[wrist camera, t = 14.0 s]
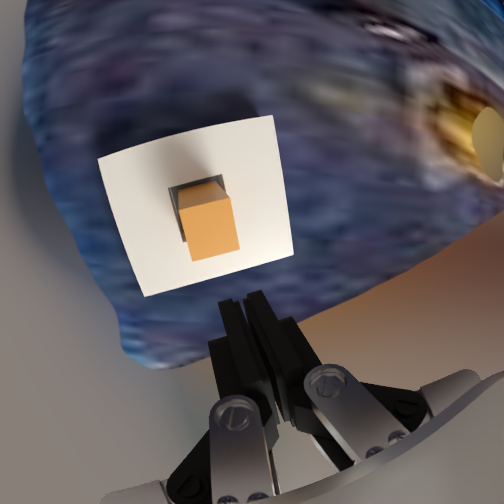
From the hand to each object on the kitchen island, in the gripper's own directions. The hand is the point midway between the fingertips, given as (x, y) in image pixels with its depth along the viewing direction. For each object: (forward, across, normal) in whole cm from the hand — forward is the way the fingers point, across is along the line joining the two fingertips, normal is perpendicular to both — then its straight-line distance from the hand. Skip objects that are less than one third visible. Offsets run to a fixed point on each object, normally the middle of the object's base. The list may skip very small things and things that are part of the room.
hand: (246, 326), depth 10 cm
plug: (+22, 0, +1) cm, 22 cm away
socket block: (+24, 0, +1) cm, 24 cm away
